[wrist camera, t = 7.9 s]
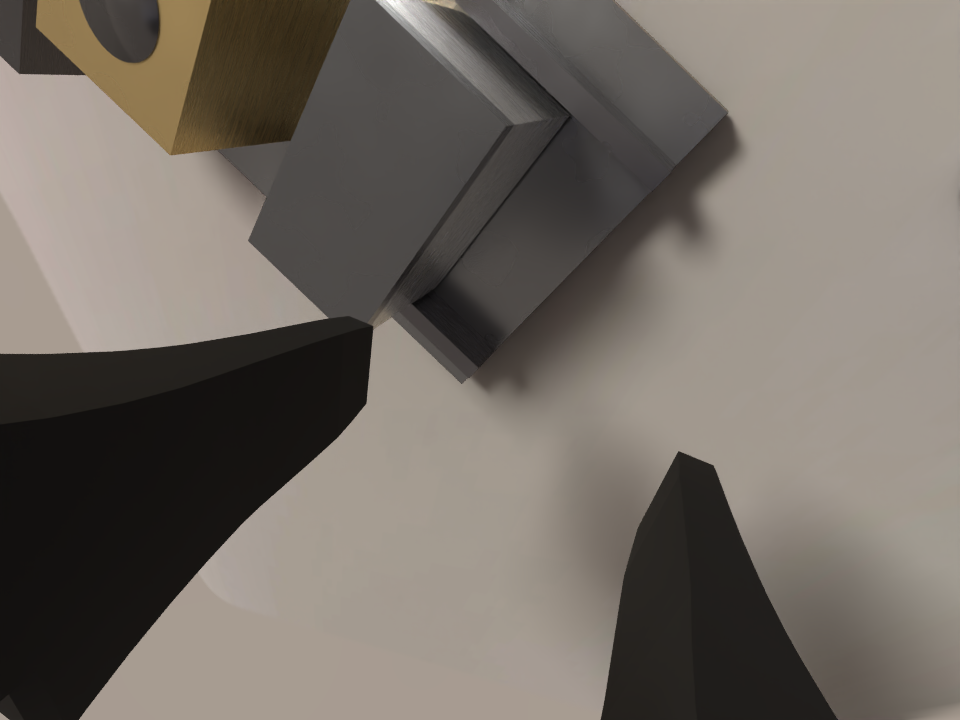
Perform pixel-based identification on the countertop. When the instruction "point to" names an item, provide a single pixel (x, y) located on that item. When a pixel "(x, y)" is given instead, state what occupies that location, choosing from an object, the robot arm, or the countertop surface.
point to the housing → (199, 63)
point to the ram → (399, 157)
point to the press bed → (549, 180)
